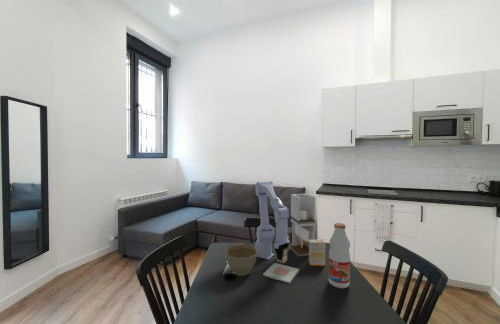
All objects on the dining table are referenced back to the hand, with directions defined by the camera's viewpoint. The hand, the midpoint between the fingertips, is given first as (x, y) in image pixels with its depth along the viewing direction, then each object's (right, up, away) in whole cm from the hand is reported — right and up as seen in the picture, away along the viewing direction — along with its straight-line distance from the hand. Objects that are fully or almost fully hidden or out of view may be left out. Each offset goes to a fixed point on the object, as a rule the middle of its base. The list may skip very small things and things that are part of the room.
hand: (281, 257), depth 120 cm
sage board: (0, -8, 0) cm, 8 cm away
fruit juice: (+26, -9, -9) cm, 29 cm away
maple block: (0, -2, 0) cm, 2 cm away
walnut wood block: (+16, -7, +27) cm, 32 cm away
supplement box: (+21, -8, +10) cm, 24 cm away
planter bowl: (-20, -8, +2) cm, 22 cm away
